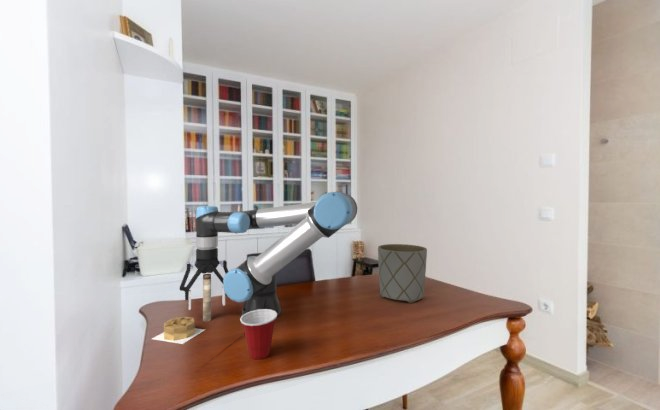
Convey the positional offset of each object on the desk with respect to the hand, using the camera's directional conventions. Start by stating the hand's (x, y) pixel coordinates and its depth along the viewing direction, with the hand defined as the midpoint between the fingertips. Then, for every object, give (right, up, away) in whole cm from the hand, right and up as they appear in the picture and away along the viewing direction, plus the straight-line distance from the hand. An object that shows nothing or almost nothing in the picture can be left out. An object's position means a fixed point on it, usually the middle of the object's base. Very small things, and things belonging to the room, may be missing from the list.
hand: (207, 306), depth 117 cm
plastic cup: (+25, -7, -23) cm, 35 cm away
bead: (-5, -5, -12) cm, 14 cm away
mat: (-5, -6, -12) cm, 14 cm away
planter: (+80, -6, +34) cm, 87 cm away
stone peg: (0, -6, 0) cm, 6 cm away
